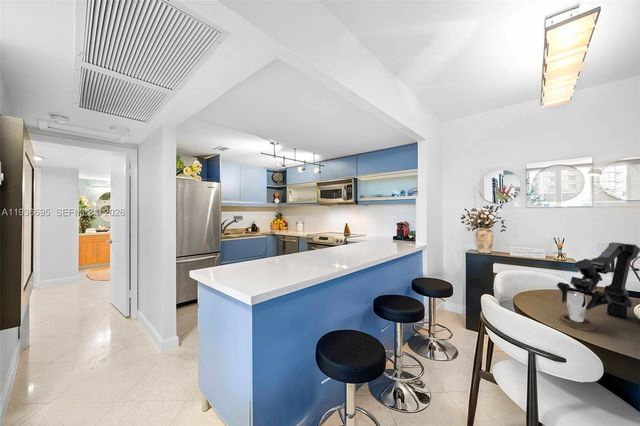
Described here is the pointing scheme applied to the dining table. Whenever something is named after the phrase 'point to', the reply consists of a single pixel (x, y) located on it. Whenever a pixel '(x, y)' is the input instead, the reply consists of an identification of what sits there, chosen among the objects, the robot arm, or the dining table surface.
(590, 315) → the dining table surface
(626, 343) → the dining table surface
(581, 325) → the faceted bowl
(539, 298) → the dining table surface
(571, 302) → the beer glass
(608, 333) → the dining table surface
